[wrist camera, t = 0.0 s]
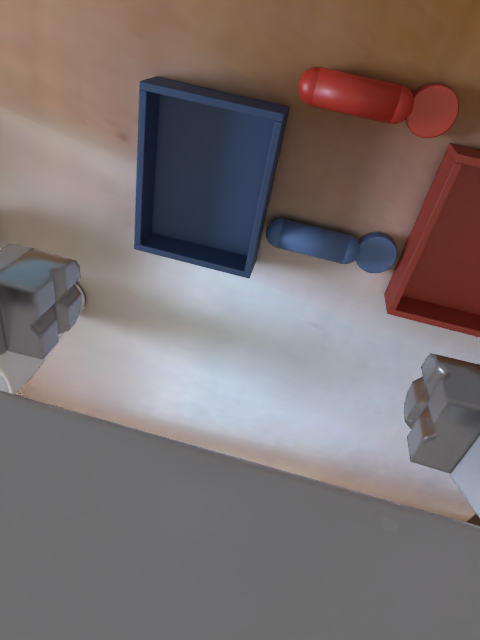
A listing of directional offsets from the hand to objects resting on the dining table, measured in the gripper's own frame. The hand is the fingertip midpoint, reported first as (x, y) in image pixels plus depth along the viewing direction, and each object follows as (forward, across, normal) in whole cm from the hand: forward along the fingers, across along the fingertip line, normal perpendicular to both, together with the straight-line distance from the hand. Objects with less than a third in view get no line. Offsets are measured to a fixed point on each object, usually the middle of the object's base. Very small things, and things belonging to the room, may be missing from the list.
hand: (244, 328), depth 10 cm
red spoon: (+31, -4, -2) cm, 31 cm away
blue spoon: (+31, -4, +10) cm, 33 cm away
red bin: (+31, -16, +7) cm, 35 cm away
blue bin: (+31, +8, +7) cm, 32 cm away
